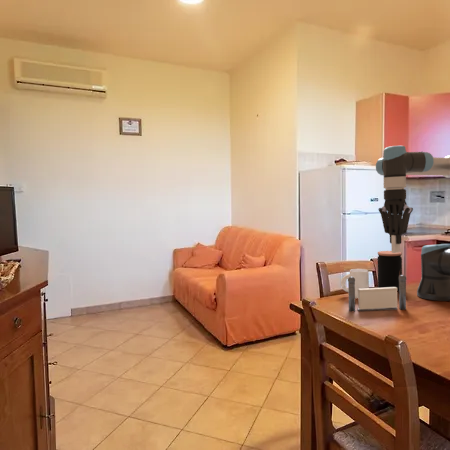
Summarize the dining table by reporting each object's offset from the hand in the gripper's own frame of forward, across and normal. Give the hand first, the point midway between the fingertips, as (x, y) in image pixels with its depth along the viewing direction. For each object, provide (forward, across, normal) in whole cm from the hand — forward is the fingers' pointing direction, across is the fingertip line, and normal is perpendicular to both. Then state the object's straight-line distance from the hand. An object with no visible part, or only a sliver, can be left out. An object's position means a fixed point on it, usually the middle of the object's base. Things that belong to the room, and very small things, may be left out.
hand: (395, 252), depth 138 cm
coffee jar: (+24, +27, -31) cm, 48 cm away
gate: (+23, +8, 0) cm, 25 cm away
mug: (+24, +28, -9) cm, 38 cm away
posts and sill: (+24, +9, 0) cm, 26 cm away
